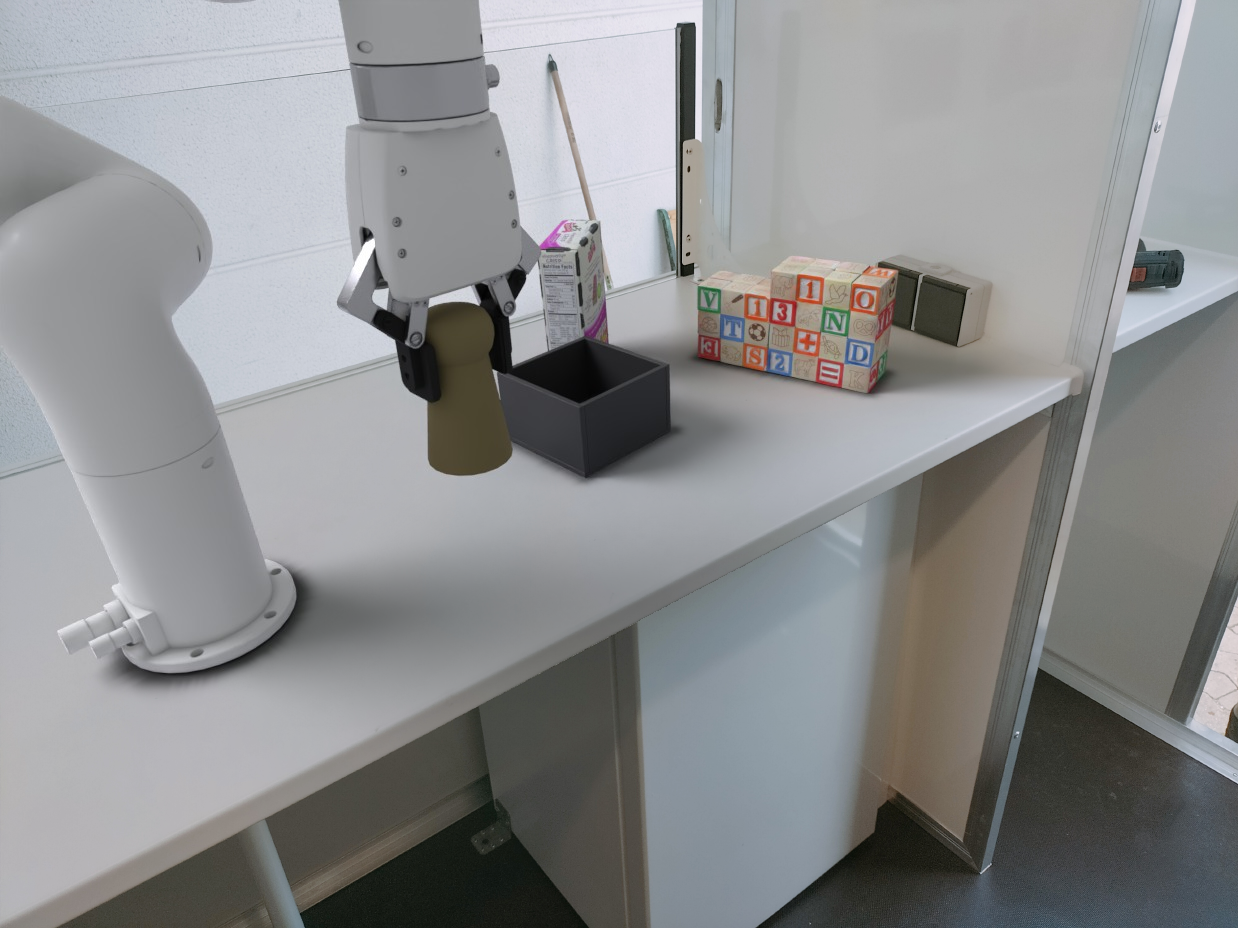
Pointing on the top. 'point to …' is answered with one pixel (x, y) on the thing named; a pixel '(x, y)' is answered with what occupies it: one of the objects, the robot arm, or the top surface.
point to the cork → (465, 393)
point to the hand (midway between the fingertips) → (460, 379)
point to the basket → (586, 403)
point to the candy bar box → (573, 283)
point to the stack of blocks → (801, 320)
